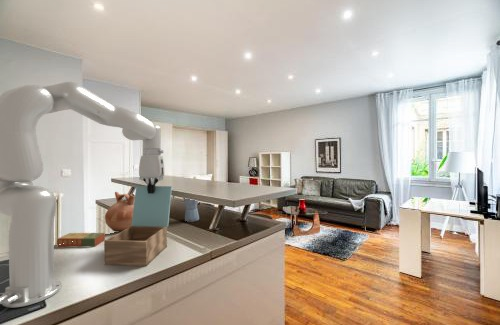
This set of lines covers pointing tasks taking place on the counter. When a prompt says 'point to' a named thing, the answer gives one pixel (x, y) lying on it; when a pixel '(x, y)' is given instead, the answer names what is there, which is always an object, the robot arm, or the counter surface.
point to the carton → (81, 239)
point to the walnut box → (135, 246)
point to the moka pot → (191, 210)
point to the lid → (152, 207)
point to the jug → (120, 213)
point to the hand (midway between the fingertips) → (151, 193)
